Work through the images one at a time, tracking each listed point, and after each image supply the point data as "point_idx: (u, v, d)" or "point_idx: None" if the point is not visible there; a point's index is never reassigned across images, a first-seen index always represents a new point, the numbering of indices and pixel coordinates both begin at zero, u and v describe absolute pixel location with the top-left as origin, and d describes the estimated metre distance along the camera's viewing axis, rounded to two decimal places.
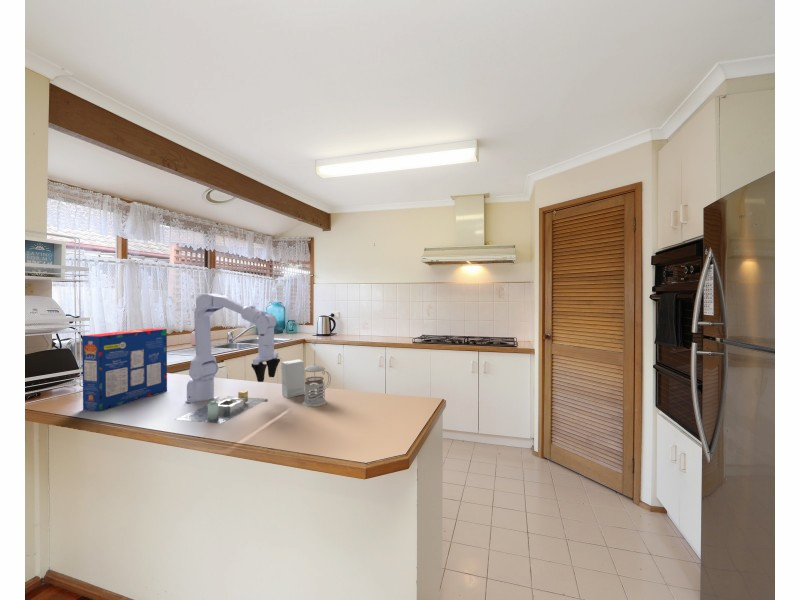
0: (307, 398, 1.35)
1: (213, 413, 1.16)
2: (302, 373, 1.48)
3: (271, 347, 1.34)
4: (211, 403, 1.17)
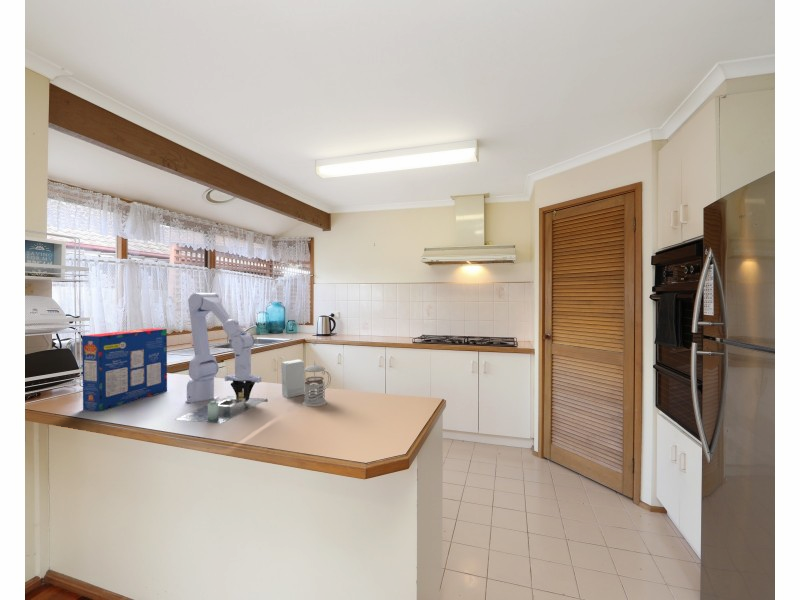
0: (307, 398, 1.35)
1: (213, 413, 1.16)
2: (302, 373, 1.48)
3: (236, 368, 1.31)
4: (211, 403, 1.17)
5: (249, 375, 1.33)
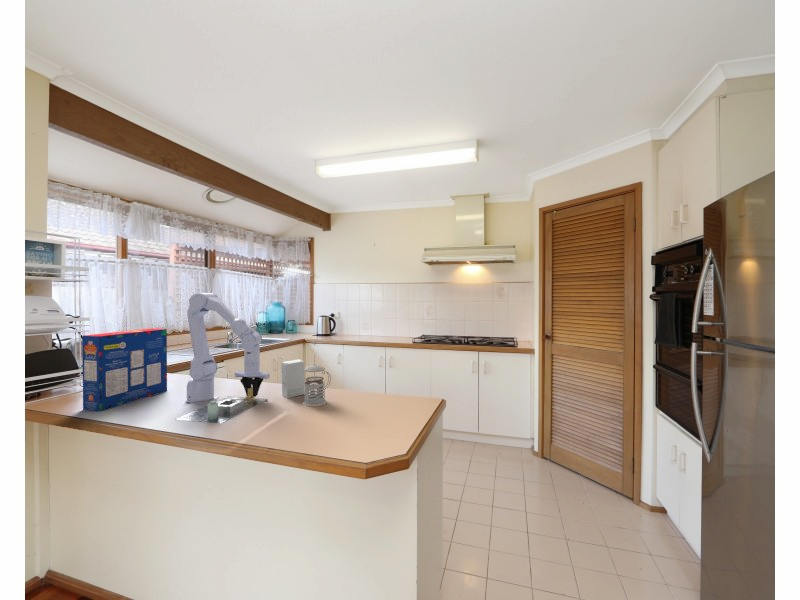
0: (307, 398, 1.35)
1: (213, 413, 1.16)
2: (302, 373, 1.48)
3: (246, 365, 1.37)
4: (211, 403, 1.17)
5: (258, 372, 1.39)
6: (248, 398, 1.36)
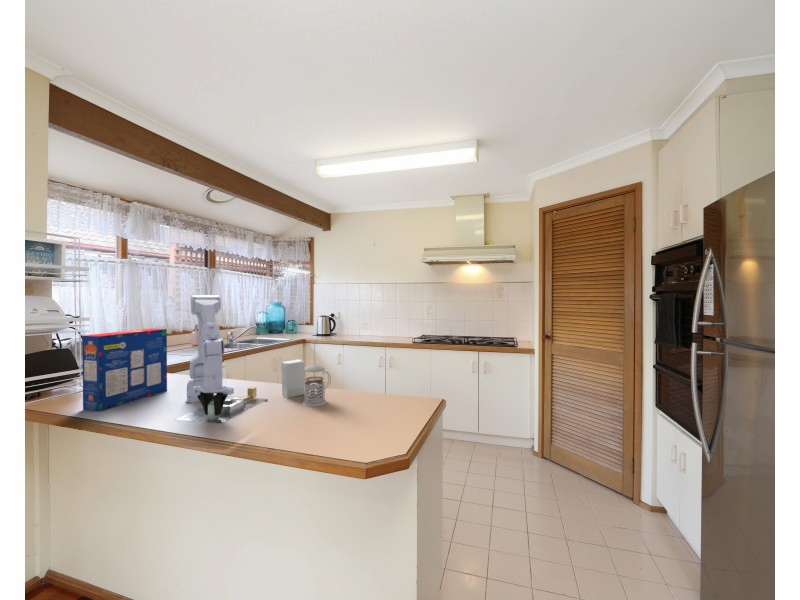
0: (307, 398, 1.35)
1: (213, 413, 1.16)
2: (302, 373, 1.48)
3: (205, 378, 1.15)
4: (211, 403, 1.17)
5: (220, 386, 1.17)
6: (248, 398, 1.36)
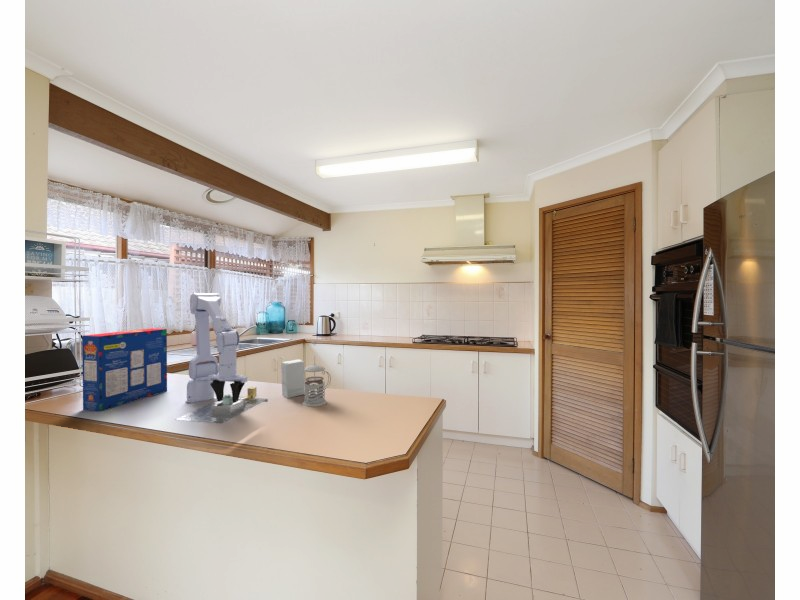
0: (307, 398, 1.35)
1: None
2: (302, 373, 1.48)
3: (220, 367, 1.22)
4: (226, 397, 1.24)
5: (234, 375, 1.24)
6: (248, 398, 1.36)
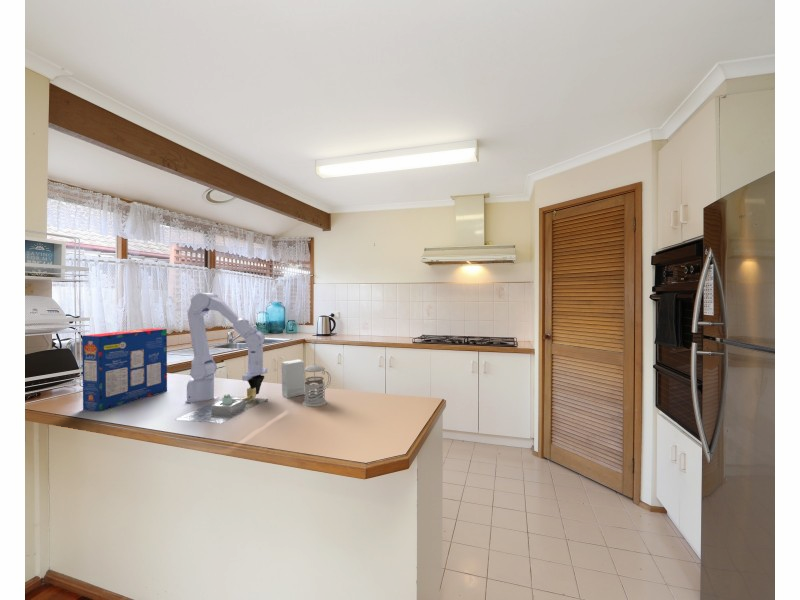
0: (307, 398, 1.35)
1: None
2: (302, 373, 1.48)
3: (260, 363, 1.40)
4: (225, 396, 1.24)
5: None
6: (248, 398, 1.36)
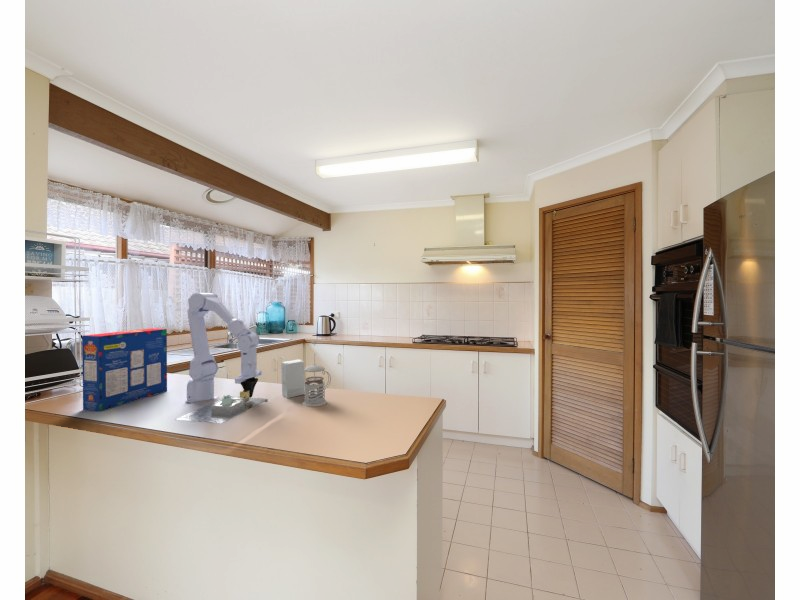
0: (307, 398, 1.35)
1: None
2: (302, 373, 1.48)
3: (253, 365, 1.36)
4: (224, 397, 1.23)
5: None
6: None
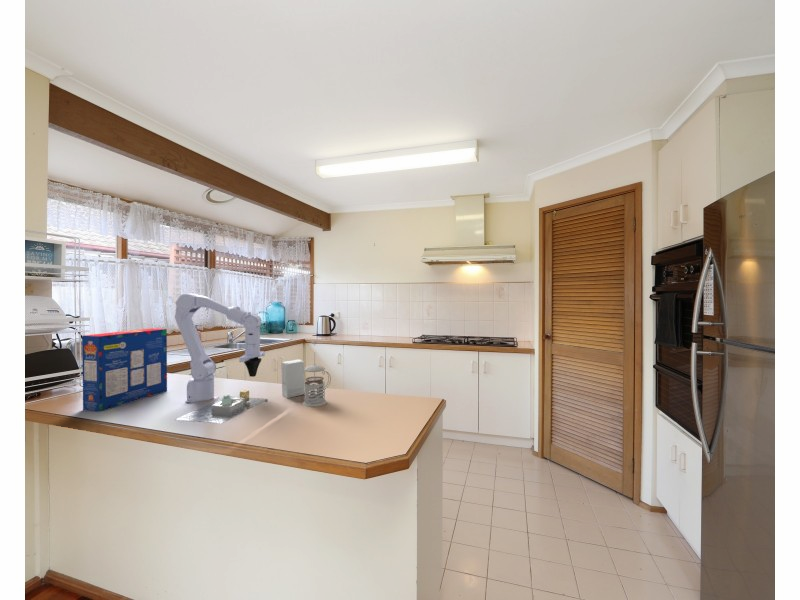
0: (307, 398, 1.35)
1: None
2: (302, 373, 1.48)
3: (257, 346, 1.41)
4: (224, 397, 1.23)
5: None
6: None
